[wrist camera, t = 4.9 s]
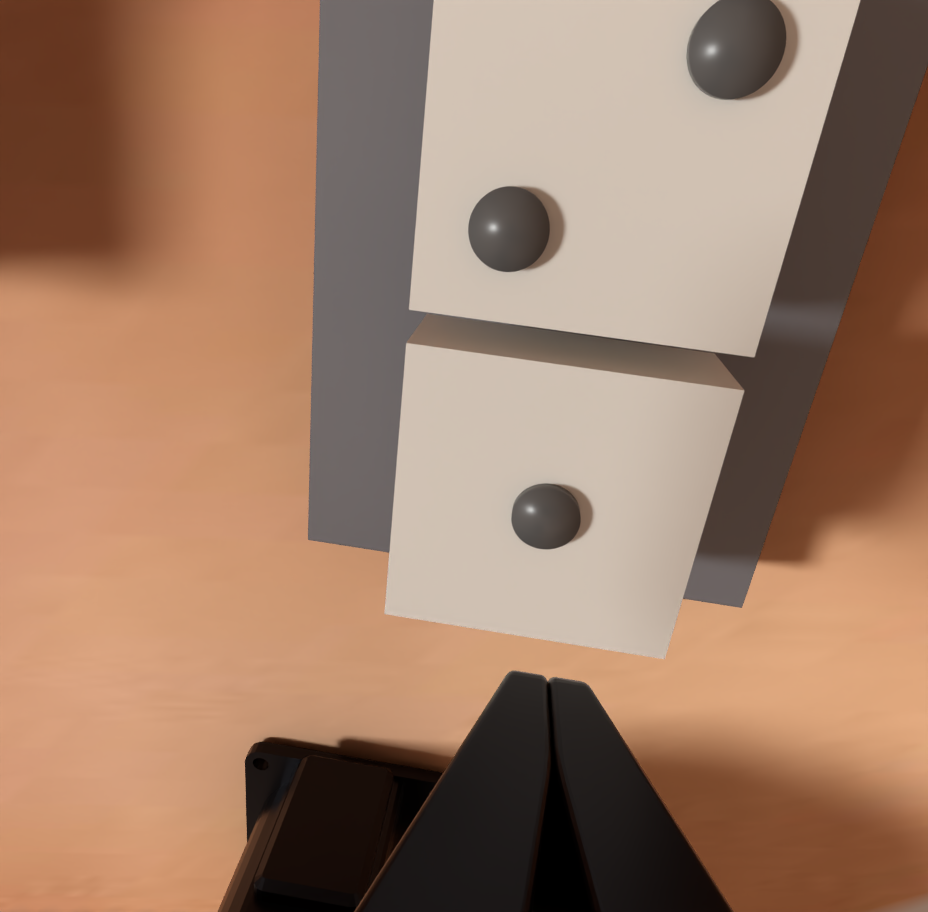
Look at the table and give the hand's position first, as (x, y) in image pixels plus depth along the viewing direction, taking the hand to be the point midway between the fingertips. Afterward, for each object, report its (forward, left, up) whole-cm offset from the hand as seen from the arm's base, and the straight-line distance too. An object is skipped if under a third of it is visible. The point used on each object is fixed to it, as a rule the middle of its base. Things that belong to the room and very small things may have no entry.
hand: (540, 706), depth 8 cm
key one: (0, 0, -6) cm, 6 cm away
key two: (+6, 0, -6) cm, 8 cm away
